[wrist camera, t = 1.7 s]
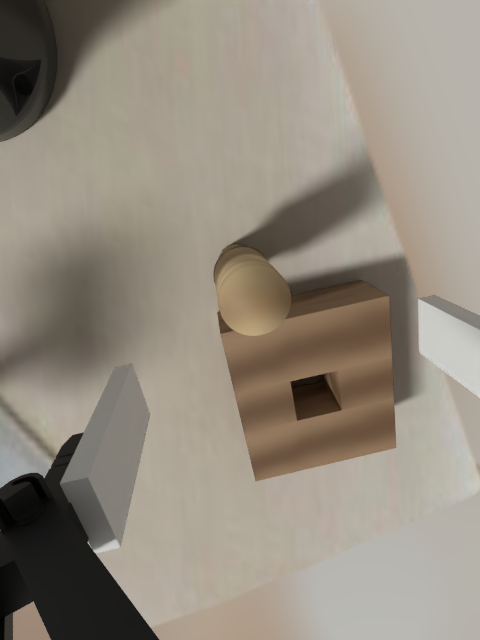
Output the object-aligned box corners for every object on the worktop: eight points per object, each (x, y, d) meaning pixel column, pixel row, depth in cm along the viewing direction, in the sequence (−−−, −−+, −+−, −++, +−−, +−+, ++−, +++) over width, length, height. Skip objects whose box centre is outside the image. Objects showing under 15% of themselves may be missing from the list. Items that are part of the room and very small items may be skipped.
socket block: (217, 312, 38) (220, 333, 33) (361, 280, 39) (389, 295, 33) (248, 444, 45) (255, 481, 39) (371, 415, 45) (396, 447, 40)
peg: (206, 242, 35) (210, 274, 22) (254, 231, 36) (286, 257, 23) (217, 288, 37) (226, 343, 24) (262, 278, 37) (296, 327, 24)
